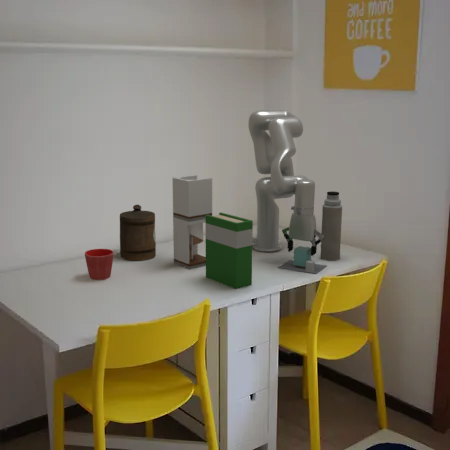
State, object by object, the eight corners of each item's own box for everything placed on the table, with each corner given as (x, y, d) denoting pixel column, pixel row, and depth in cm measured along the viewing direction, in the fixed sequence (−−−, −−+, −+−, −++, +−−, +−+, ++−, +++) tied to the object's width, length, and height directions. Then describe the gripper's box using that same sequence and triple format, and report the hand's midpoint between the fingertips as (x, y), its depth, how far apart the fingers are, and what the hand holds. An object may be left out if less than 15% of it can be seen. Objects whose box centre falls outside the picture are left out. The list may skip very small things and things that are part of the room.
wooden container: (163, 255, 265) (162, 204, 260) (136, 263, 254) (134, 210, 249) (140, 249, 275) (138, 200, 270) (113, 256, 264) (111, 205, 259)
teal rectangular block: (293, 265, 249) (294, 248, 247) (298, 261, 253) (299, 246, 252) (305, 267, 246) (306, 250, 245) (310, 263, 251) (311, 247, 249)
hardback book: (205, 277, 237) (205, 215, 231) (220, 273, 241) (221, 212, 236) (236, 289, 224) (236, 223, 218) (251, 285, 228) (252, 220, 223)
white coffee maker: (189, 269, 246) (188, 181, 238) (173, 263, 254) (172, 177, 246) (212, 264, 253) (212, 178, 245) (196, 258, 261) (195, 174, 253)
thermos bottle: (320, 255, 267) (322, 190, 261) (339, 255, 266) (342, 190, 260) (320, 260, 259) (323, 193, 253) (340, 260, 259) (343, 193, 252)
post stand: (277, 268, 249) (278, 250, 247) (289, 260, 259) (290, 243, 257) (315, 274, 241) (316, 256, 239) (326, 266, 251) (327, 249, 250)
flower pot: (120, 275, 239) (119, 250, 236) (101, 283, 229) (100, 257, 227) (99, 271, 244) (98, 246, 242) (79, 278, 235) (78, 253, 232)
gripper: (279, 209, 246) (277, 251, 250) (321, 216, 238) (318, 259, 242) (287, 206, 252) (285, 247, 257) (328, 212, 244) (325, 254, 248)
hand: (301, 252), depth 249 cm, fingers open, 9 cm apart
